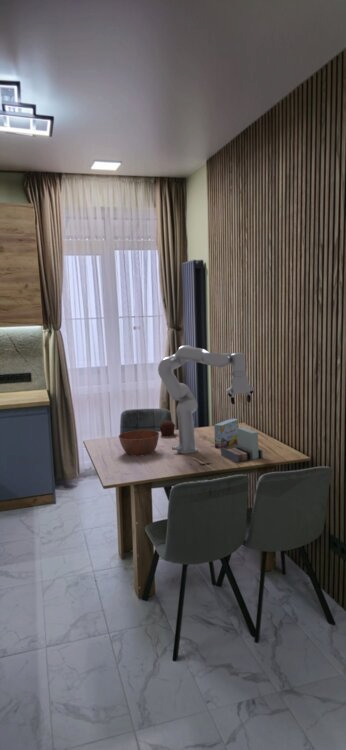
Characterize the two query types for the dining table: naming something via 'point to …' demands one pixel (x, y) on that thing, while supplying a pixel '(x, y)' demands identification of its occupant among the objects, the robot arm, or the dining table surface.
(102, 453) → the dining table surface
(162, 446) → the dining table surface
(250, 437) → the tall sheet
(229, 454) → the offcut rack
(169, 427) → the muffin
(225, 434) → the snack box
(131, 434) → the bowl
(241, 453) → the upper offcut
